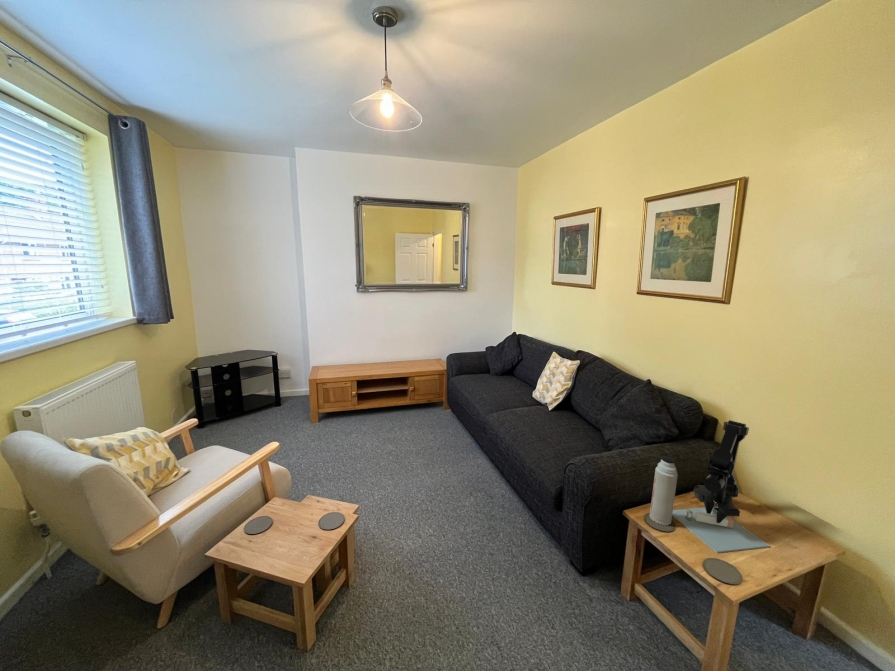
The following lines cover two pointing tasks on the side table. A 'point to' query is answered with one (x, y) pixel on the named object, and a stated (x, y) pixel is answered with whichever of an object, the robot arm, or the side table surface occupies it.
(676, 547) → the side table surface
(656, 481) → the thermos bottle
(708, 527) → the board
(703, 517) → the white rectangular bar
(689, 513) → the posts
